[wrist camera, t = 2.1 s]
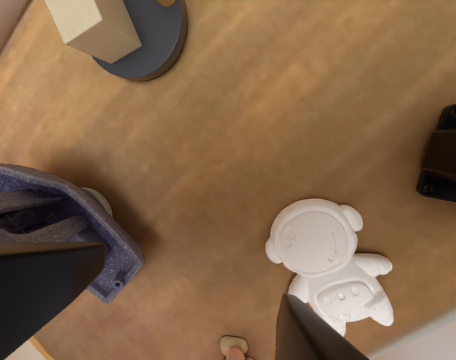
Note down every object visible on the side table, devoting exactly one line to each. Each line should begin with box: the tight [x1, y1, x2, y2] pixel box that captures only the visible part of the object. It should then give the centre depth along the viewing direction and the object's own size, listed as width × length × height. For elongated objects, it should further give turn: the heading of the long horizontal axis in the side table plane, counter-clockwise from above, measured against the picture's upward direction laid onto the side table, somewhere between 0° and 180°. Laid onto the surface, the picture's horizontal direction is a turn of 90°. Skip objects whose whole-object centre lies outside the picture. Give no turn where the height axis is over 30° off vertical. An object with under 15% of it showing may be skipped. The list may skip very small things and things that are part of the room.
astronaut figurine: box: [265, 199, 394, 337], centre depth 19 cm, size 9×12×3 cm
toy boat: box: [0, 163, 145, 304], centre depth 18 cm, size 15×8×13 cm, turn 49°
